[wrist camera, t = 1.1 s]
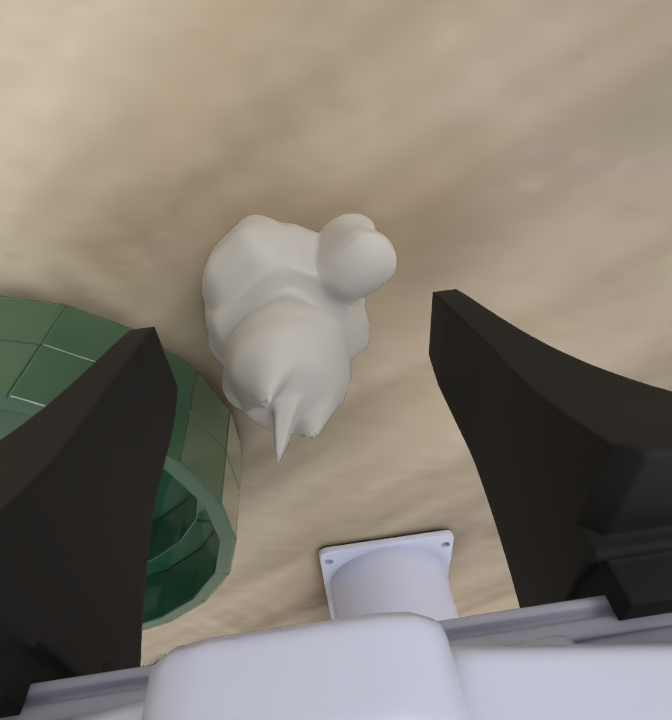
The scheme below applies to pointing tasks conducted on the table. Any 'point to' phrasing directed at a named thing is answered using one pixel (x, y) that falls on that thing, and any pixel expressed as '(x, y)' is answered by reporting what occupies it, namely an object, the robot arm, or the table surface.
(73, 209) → the table surface
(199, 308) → the table surface
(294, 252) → the grey lumpy piece
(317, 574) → the table surface
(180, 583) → the bowl
